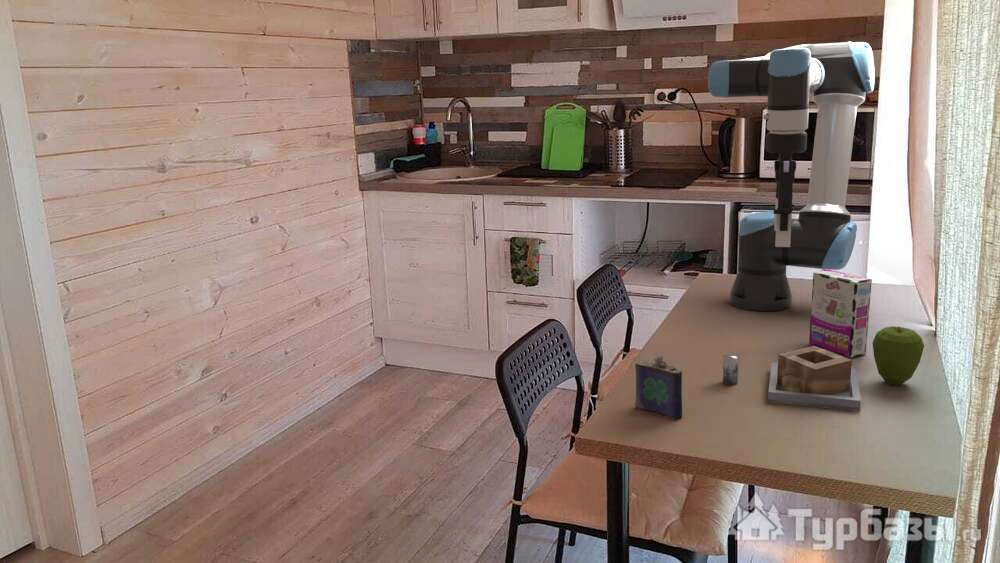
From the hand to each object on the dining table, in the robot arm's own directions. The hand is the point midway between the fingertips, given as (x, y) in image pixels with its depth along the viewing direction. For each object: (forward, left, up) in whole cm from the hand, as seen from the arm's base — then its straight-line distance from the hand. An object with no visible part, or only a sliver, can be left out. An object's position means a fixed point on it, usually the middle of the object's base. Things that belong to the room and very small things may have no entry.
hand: (781, 238), depth 160 cm
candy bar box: (-8, +12, -26) cm, 30 cm away
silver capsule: (+16, -8, -26) cm, 31 cm away
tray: (+16, +7, -26) cm, 31 cm away
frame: (+16, +7, -25) cm, 30 cm away
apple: (+9, +22, -26) cm, 35 cm away
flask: (+33, -19, -26) cm, 46 cm away
